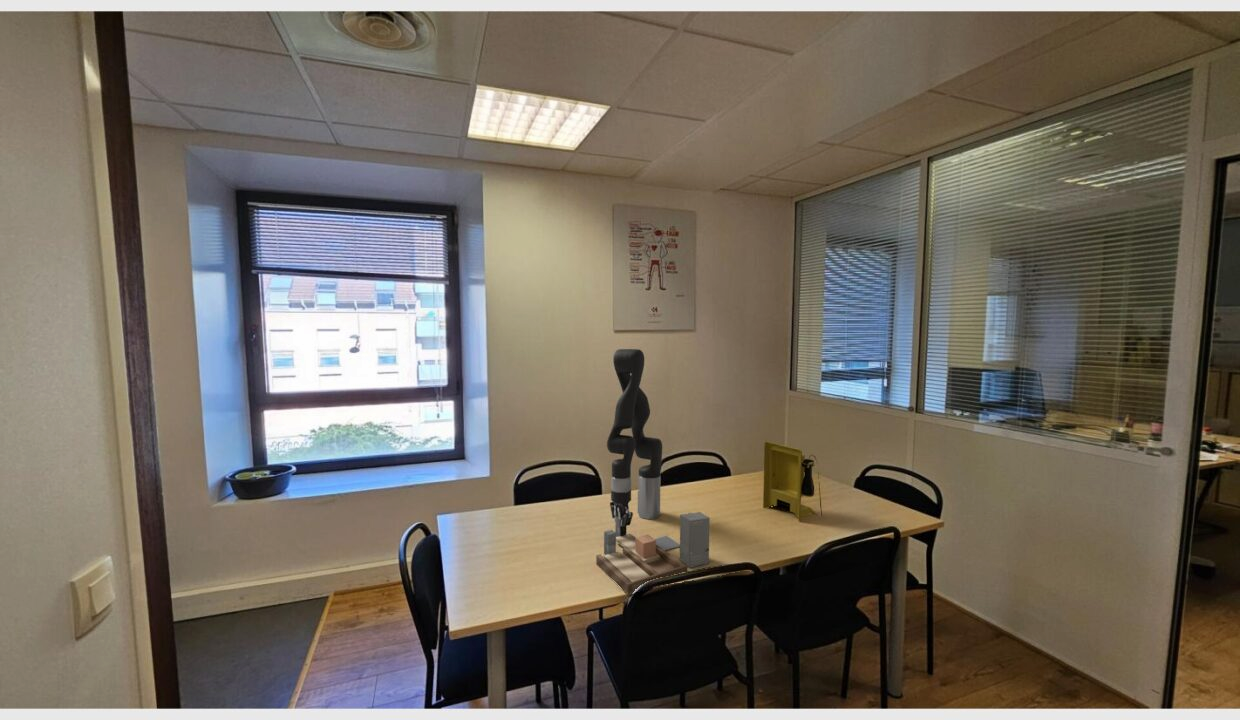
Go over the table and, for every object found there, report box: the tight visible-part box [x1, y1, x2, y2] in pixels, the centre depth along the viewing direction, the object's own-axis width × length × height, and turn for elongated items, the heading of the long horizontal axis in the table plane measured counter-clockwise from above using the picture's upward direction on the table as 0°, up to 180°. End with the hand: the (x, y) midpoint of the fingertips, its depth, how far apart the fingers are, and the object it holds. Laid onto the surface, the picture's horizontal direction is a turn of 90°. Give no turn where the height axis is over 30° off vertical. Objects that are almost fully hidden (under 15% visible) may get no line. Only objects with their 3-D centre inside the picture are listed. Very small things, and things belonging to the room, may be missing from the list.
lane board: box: [595, 545, 688, 596], centre depth 149 cm, size 21×22×3 cm
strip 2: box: [603, 529, 649, 582], centre depth 148 cm, size 22×6×8 cm, turn 30°
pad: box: [654, 535, 680, 552], centre depth 167 cm, size 9×9×1 cm
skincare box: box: [679, 511, 710, 568], centre depth 155 cm, size 8×7×16 cm
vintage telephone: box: [762, 441, 823, 522], centre depth 196 cm, size 31×14×30 cm, turn 34°
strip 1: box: [614, 515, 660, 563], centre depth 162 cm, size 22×6×8 cm, turn 30°
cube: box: [635, 534, 656, 558], centre depth 156 cm, size 5×5×5 cm
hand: (620, 532), depth 170 cm, fingers closed on strip 1, 3 cm apart
